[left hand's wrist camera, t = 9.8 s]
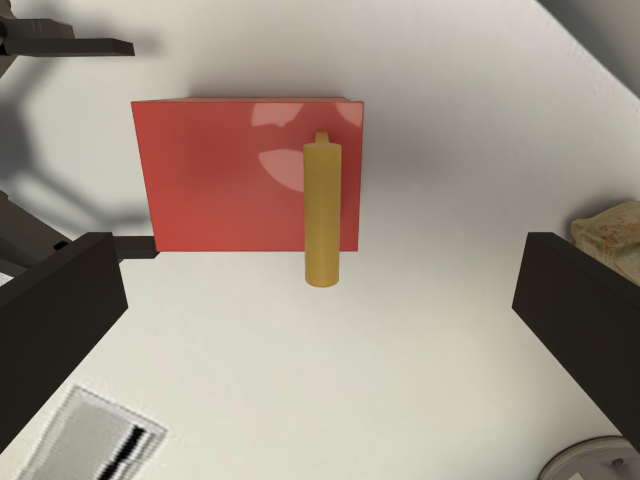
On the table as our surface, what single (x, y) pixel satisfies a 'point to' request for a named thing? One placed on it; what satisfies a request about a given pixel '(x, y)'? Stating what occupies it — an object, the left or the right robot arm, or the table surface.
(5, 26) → the right robot arm
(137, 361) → the table surface
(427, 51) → the table surface
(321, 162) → the lid
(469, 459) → the table surface
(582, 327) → the left robot arm
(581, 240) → the sculpture
